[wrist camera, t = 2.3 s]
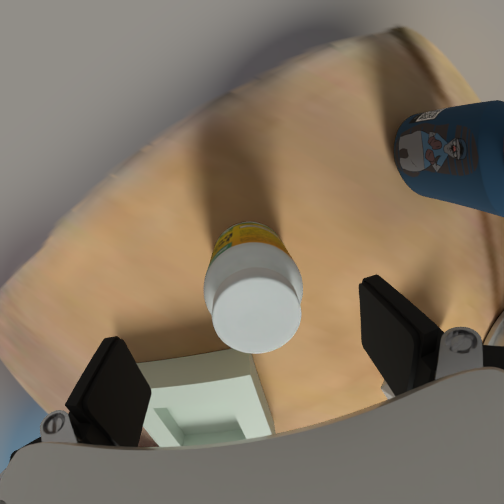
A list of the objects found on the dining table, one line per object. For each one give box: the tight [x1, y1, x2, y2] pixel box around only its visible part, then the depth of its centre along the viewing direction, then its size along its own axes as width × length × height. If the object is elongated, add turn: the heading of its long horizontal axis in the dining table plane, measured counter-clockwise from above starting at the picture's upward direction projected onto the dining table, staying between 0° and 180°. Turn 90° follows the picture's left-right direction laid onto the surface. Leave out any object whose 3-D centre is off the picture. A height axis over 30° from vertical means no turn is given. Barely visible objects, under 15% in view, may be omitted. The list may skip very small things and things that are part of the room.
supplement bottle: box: [204, 222, 303, 354], centre depth 17 cm, size 5×5×10 cm
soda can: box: [394, 100, 504, 217], centre depth 14 cm, size 7×7×12 cm
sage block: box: [136, 348, 276, 447], centre depth 24 cm, size 12×12×4 cm
